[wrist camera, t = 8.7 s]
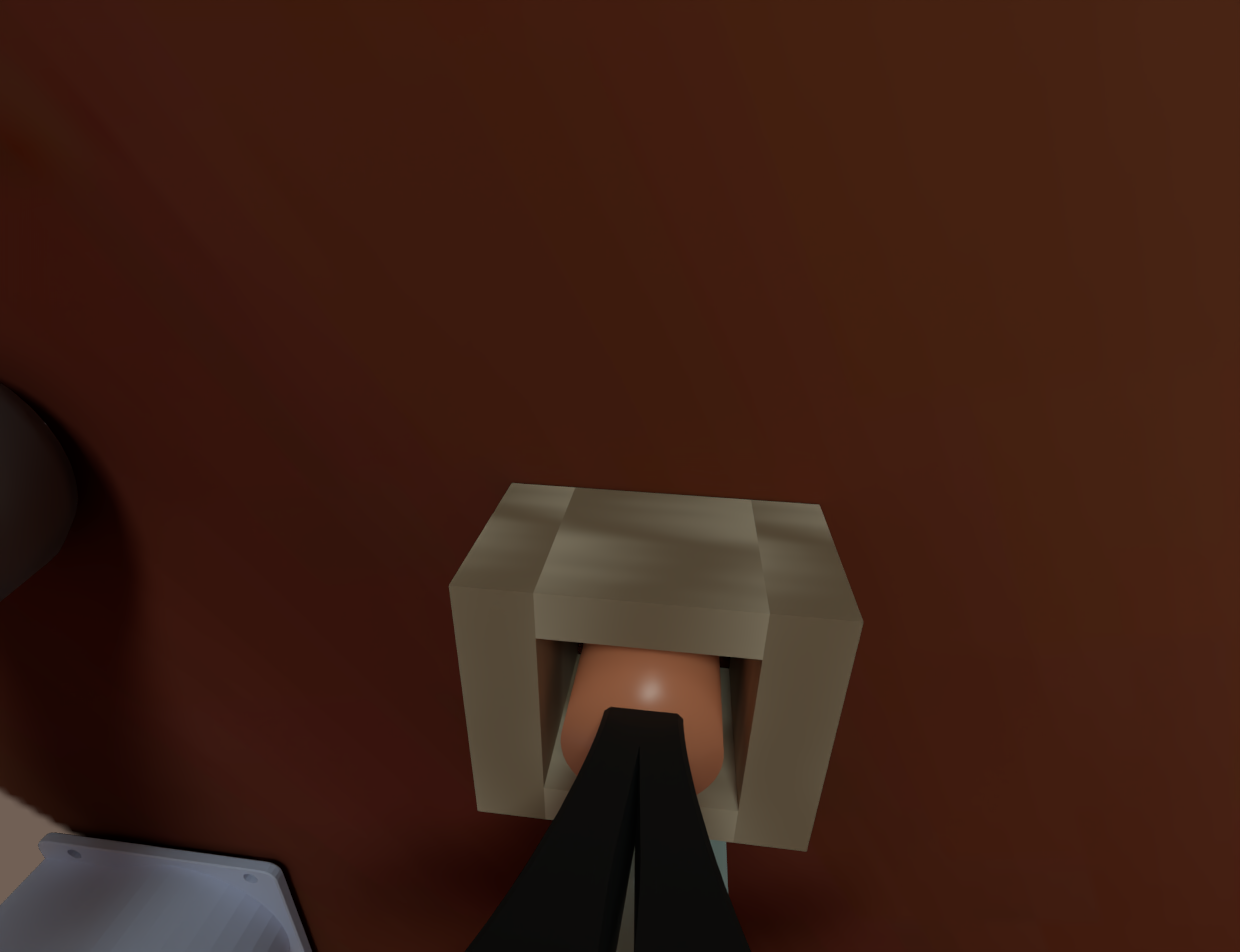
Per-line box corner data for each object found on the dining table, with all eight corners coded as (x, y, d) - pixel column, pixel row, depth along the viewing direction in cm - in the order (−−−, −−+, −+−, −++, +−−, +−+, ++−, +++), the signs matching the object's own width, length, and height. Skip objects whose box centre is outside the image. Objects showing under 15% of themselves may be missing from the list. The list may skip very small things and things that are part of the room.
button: (593, 653, 15) (562, 795, 12) (593, 555, 14) (558, 681, 11) (712, 664, 15) (716, 813, 12) (722, 565, 14) (731, 698, 10)
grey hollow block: (524, 676, 17) (478, 810, 13) (511, 482, 14) (448, 585, 11) (782, 702, 16) (806, 851, 13) (819, 504, 13) (863, 621, 10)
